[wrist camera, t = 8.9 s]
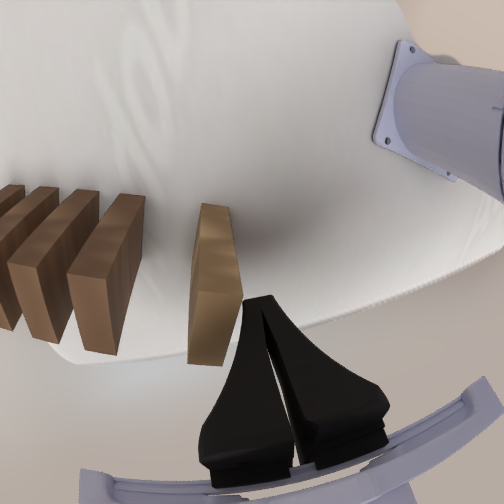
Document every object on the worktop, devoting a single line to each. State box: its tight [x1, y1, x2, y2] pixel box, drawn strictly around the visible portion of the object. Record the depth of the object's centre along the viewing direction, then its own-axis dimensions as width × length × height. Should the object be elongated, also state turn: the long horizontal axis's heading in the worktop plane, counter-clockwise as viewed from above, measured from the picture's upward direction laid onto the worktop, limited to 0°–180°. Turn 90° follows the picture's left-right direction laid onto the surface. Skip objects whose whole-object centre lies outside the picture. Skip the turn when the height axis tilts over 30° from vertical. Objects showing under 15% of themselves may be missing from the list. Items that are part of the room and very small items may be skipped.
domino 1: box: [187, 203, 243, 366], centre depth 14 cm, size 2×4×8 cm, turn 165°
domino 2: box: [67, 193, 145, 356], centre depth 13 cm, size 2×4×8 cm, turn 165°
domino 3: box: [7, 189, 99, 344], centre depth 12 cm, size 2×4×8 cm, turn 166°
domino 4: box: [0, 186, 59, 331], centre depth 11 cm, size 2×4×8 cm, turn 165°
